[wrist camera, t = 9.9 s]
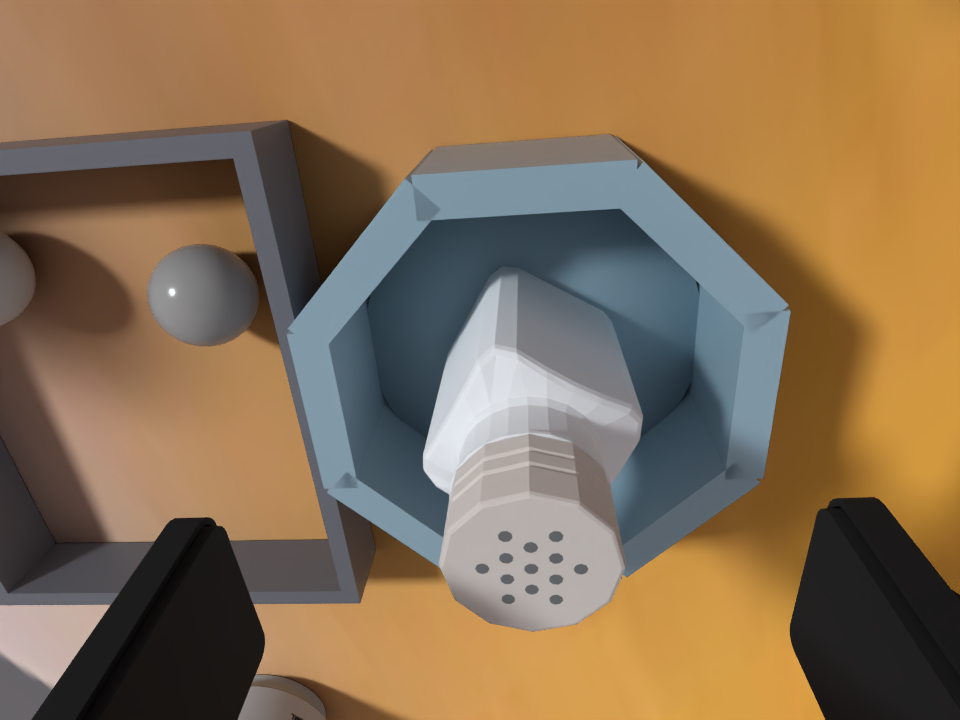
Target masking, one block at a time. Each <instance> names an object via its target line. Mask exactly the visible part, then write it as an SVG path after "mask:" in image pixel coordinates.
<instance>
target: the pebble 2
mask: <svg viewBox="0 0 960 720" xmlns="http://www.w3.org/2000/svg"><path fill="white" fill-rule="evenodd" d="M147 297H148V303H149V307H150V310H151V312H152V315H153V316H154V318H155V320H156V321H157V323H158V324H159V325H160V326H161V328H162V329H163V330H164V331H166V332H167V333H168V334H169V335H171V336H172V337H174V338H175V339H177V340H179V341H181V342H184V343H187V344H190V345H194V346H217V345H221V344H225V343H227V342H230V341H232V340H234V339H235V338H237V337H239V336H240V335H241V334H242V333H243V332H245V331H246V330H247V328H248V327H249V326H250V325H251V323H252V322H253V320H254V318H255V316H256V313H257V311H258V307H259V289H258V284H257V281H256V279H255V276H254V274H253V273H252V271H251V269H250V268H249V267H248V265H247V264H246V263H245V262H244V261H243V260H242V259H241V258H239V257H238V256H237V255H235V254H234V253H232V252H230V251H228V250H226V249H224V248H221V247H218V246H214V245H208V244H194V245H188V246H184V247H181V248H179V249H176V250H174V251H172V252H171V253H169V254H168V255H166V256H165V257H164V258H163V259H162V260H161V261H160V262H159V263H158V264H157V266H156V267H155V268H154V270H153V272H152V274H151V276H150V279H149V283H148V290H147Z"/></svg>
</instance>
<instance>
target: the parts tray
mask: <svg viewBox="0 0 960 720" xmlns="http://www.w3.org/2000/svg"><path fill="white" fill-rule="evenodd" d="M231 158H233V160H234V164H235V168H236V172H237V176H238V180H239V184H240V188H241V192H242V196H243V200H244V204H245V208H246V212H247V216H248V220H249V224H250V228H251V232H252V236H253V240H254V244H255V248H256V252H257V256H258V260H259V264H260V268H261V272H262V276H263V280H264V284H265V288H266V292H267V296H268V300H269V304H270V308H271V312H272V316H273V320H274V324H275V328H276V332H277V336H278V341H279V345H280V349H281V353H282V357H283V361H284V365H285V369H286V373H287V377H288V381H289V385H290V389H291V393H292V397H293V401H294V405H295V409H296V413H297V417H298V421H299V425H300V429H301V433H302V437H303V441H304V445H305V449H306V453H307V457H308V461H309V465H310V469H311V473H312V477H313V481H314V485H315V489H316V493H317V497H318V501H319V505H320V509H321V513H322V517H323V521H324V525H325V529H326V533H327V537H328V540H265V541H230V543H231V546H232V549H233V551H234V554H235V557H236V559H237V562H238V565H239V567H240V570H241V573H242V576H243V578H244V581H245V584H246V586H247V589H248V592H249V594H250V597H251V600H252V602H253V604H325V603H360V602H361V599H362V596H363V592H364V589H365V585H366V582H367V579H368V575H369V572H370V568H371V565H372V562H373V558H374V555H375V551H376V549H375V544H374V539H373V534H372V529H371V524H370V521H369V520H367V519H366V518H364V517H363V516H361V515H360V514H358V513H357V512H355V511H354V510H352V509H351V508H349V507H348V506H346V505H345V504H343V503H342V502H340V501H339V500H337V499H336V498H334V497H333V496H331V495H330V494H328V493H327V491H328V489H324V487H323V483H322V479H321V475H320V470H319V466H318V462H317V458H316V454H315V450H314V446H313V441H312V437H311V433H310V429H309V425H308V421H307V417H306V412H305V408H304V404H303V400H302V396H301V392H300V387H299V383H298V379H297V375H296V371H295V367H294V363H293V358H292V354H291V350H290V346H289V342H288V338H287V333H288V332H289V331H290V330H289V329H288V328H289V327H290V325H291V324H292V323H293V322H294V320H295V319H296V318H297V316H298V315H299V314H300V313H301V311H302V310H303V309H304V307H305V306H306V305H307V304H308V302H309V301H310V300H311V298H312V297H313V296H314V295H315V293H316V292H317V291H318V289H319V288H320V287H321V286H322V285H321V280H320V275H319V271H318V266H317V261H316V256H315V251H314V246H313V241H312V236H311V232H310V227H309V222H308V217H307V212H306V207H305V202H304V197H303V192H302V188H301V183H300V178H299V173H298V168H297V163H296V158H295V153H294V149H293V144H292V139H291V134H290V129H289V124H288V120H281V121H268V122H255V123H243V124H230V125H218V126H205V127H192V128H180V129H167V130H154V131H142V132H129V133H117V134H104V135H91V136H79V137H66V138H53V139H41V140H28V141H16V142H3V143H0V176H1V175H15V174H28V173H42V172H55V171H69V170H82V169H96V168H109V167H123V166H137V165H150V164H164V163H177V162H191V161H204V160H218V159H231ZM153 544H154V542H129V543H61V544H55V542H54V540H53V538H52V536H51V534H50V532H49V530H48V529H47V527H46V525H45V523H44V521H43V519H42V517H41V515H40V513H39V511H38V509H37V507H36V505H35V503H34V501H33V499H32V497H31V496H30V494H29V492H28V490H27V488H26V486H25V484H24V482H23V480H22V478H21V476H20V474H19V472H18V470H17V468H16V466H15V464H14V463H13V461H12V459H11V457H10V455H9V453H8V451H7V449H6V447H5V445H4V443H3V441H2V439H1V437H0V605H111V604H112V603H113V601H114V600H115V598H116V597H117V596H118V594H119V593H120V591H121V590H122V588H123V587H124V585H125V584H126V583H127V581H128V580H129V578H130V577H131V575H132V574H133V572H134V571H135V570H136V568H137V567H138V565H139V564H140V562H141V561H142V559H143V558H144V557H145V555H146V554H147V552H148V551H149V549H150V548H151V546H152V545H153Z"/></svg>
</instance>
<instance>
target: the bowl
mask: <svg viewBox="0 0 960 720" xmlns="http://www.w3.org/2000/svg"><path fill="white" fill-rule="evenodd" d="M502 266H506V267H515V268H519V269H521V270H523V271H525V272H527V273H529V274H531V275H533V276H535V277H537V278H539V279H541V280H543V281H545V282H547V283H549V284H551V285H553V286H555V287H557V288H559V289H561V290H563V291H565V292H567V293H569V294H571V295H573V296H574V297H576V298H578V299H580V300H582V301H584V302H586V303H588V304H590V305H592V306H594V307H596V308H598V309H600V310H602V311H603V312H604V313H605V314H606V315H607V317H608V318H609V319H610V320H611V321H612V323H613V326H614V329H615V332H616V335H617V338H618V341H619V344H620V347H621V350H622V353H623V356H624V359H625V362H626V365H627V368H628V371H629V375H630V378H631V381H632V384H633V387H634V390H635V393H636V396H637V399H638V402H639V405H640V408H641V411H642V414H643V421H642V428H641V435H640V440H639V442H638V444H637V445H636V447H635V449H634V450H633V452H632V454H631V455H630V457H629V458H628V460H627V462H626V463H625V465H624V466H623V468H622V469H621V471H620V472H619V474H618V475H617V476H616V478H615V479H614V480H613V482H612V483H611V487H612V495H613V502H614V507H615V512H616V519H617V522H618V527H619V532H620V533H619V534H620V537H621V542H622V547H623V552H624V557H625V562H626V568H625V570H624V572H623V575H624V576H626V577H628V576H630V575H631V574H632V573H634V572H635V571H637V570H638V569H640V568H641V567H642V566H644V565H645V564H647V563H648V562H649V561H651V560H652V559H654V558H655V557H657V556H658V555H659V554H661V553H662V552H664V551H665V550H666V549H668V548H669V547H671V546H672V545H674V544H675V543H676V542H678V541H679V540H681V539H682V538H683V537H685V536H686V535H688V534H689V533H691V532H692V531H693V530H695V529H696V528H698V527H699V526H700V525H702V524H703V523H705V522H706V521H707V520H709V519H710V518H712V517H713V516H715V515H716V514H717V513H719V512H720V511H722V510H723V509H724V508H726V507H727V506H729V505H730V504H732V503H733V502H734V501H736V500H737V499H739V498H740V497H741V496H743V495H744V494H746V493H747V492H749V491H750V490H751V489H753V488H754V487H756V486H757V485H758V484H760V482H759V480H758V479H763V478H764V472H765V466H766V460H767V454H768V448H769V442H770V435H771V429H772V423H773V417H774V411H775V405H776V399H777V393H778V387H779V380H780V374H781V368H782V362H783V356H784V350H785V344H786V338H787V332H788V325H789V319H790V313H791V311H790V310H789V309H788V308H787V307H788V306H789V305H788V304H787V303H786V302H785V301H784V300H783V299H782V298H781V297H780V296H779V295H778V294H777V293H776V292H775V291H774V290H773V289H772V288H771V287H770V286H769V285H768V284H767V283H766V282H765V281H764V280H763V279H762V278H761V277H760V276H759V275H758V274H757V273H756V272H755V271H754V270H753V269H752V268H751V267H750V266H749V265H748V264H747V263H746V262H745V261H744V260H743V259H742V258H741V257H740V256H739V255H738V254H737V253H736V252H735V251H734V250H733V249H732V248H731V247H730V246H729V245H728V244H727V243H726V242H725V241H724V240H723V239H722V238H721V237H720V236H719V235H718V234H717V233H716V232H715V231H714V230H713V229H712V228H711V227H710V226H709V225H708V224H707V223H706V222H705V221H704V220H703V219H702V218H701V217H700V216H699V215H697V214H696V213H695V212H694V211H693V210H692V209H691V208H690V207H689V206H688V205H687V204H686V203H685V202H684V201H683V200H682V199H681V198H680V197H679V196H678V195H677V194H676V193H675V192H674V191H673V190H672V189H671V188H670V187H669V186H668V185H667V184H666V183H665V182H664V181H663V180H662V179H661V178H660V177H659V176H658V175H657V174H656V173H655V172H654V171H653V170H652V169H651V168H650V167H649V166H648V165H647V164H646V163H645V162H644V161H643V160H642V159H641V158H640V157H638V156H637V155H636V154H635V153H634V152H633V151H632V150H631V149H630V148H628V147H627V146H626V145H625V144H624V143H623V142H622V141H621V140H620V139H618V138H617V137H616V136H615V137H613V136H612V135H611V134H605V135H591V136H577V137H564V138H550V139H537V140H523V141H509V142H496V143H482V144H468V145H455V146H441V147H436V148H435V149H434V150H431V151H430V152H429V153H428V154H427V155H426V156H425V157H424V158H423V160H422V161H421V162H420V163H419V164H418V165H417V166H416V167H415V168H414V169H413V170H412V171H411V173H410V174H409V175H408V176H407V177H406V178H405V179H404V180H403V182H402V183H401V184H400V186H399V187H398V188H397V189H396V191H395V192H394V193H393V194H392V196H391V197H390V198H389V200H388V201H387V202H386V203H385V205H384V206H383V207H382V209H381V210H380V211H379V212H378V214H377V215H376V216H375V218H374V219H373V220H372V221H371V223H370V224H369V225H368V227H367V228H366V229H365V230H364V232H363V233H362V234H361V236H360V237H359V238H358V239H357V241H356V242H355V243H354V245H353V246H352V247H351V248H350V250H349V251H348V252H347V254H346V255H345V256H344V257H343V259H342V260H341V261H340V262H339V264H338V265H337V266H336V268H335V269H334V270H333V271H332V273H331V274H330V275H329V277H328V278H327V279H326V280H325V282H324V283H323V284H322V286H321V287H320V288H319V289H318V291H317V292H316V293H315V295H314V296H313V297H312V298H311V300H310V301H309V302H308V304H307V305H306V306H305V307H304V309H303V310H302V311H301V313H300V314H299V315H298V316H297V318H296V319H295V320H294V322H293V323H292V324H291V325H290V327H289V328H288V329H289V330H290V331H289V332H288V333H287V338H288V342H289V346H290V350H291V354H292V358H293V363H294V367H295V371H296V375H297V379H298V383H299V387H300V392H301V396H302V400H303V404H304V408H305V412H306V417H307V421H308V425H309V429H310V433H311V437H312V441H313V446H314V450H315V454H316V458H317V462H318V466H319V470H320V475H321V479H322V483H323V487H324V489H328V491H327V493H328V494H330V495H331V496H333V497H334V498H336V499H337V500H339V501H340V502H342V503H343V504H345V505H346V506H348V507H349V508H351V509H352V510H354V511H355V512H357V513H358V514H360V515H361V516H363V517H364V518H366V519H367V520H369V521H370V522H372V523H373V524H375V525H376V526H378V527H379V528H381V529H382V530H384V531H385V532H387V533H388V534H390V535H391V536H393V537H394V538H396V539H397V540H399V541H400V542H402V543H403V544H405V545H406V546H408V547H409V548H411V549H412V550H414V551H415V552H417V553H418V554H420V555H421V556H423V557H425V558H426V559H428V560H429V561H431V562H432V563H434V564H435V565H437V566H438V567H439V559H440V553H441V547H442V541H443V536H444V529H445V523H446V518H447V510H448V504H449V494H448V493H446V492H444V491H443V490H441V489H439V488H438V487H436V486H435V484H434V483H433V482H432V481H431V479H430V478H429V477H428V475H427V474H426V473H425V471H424V469H423V453H424V449H425V444H426V440H427V436H428V432H429V428H430V424H431V420H432V416H433V412H434V408H435V404H436V400H437V396H438V392H439V388H440V384H441V380H442V376H443V372H444V368H445V364H446V360H447V355H448V352H449V351H450V349H451V347H452V345H453V343H454V341H455V339H456V338H457V336H458V334H459V332H460V330H461V328H462V326H463V325H464V323H465V321H466V319H467V317H468V315H469V313H470V312H471V310H472V308H473V306H474V304H475V302H476V301H477V299H478V297H479V295H480V293H481V291H482V289H483V288H484V286H485V284H486V282H487V280H488V278H489V276H490V275H492V274H493V273H494V272H496V271H497V270H498V269H499V268H501V267H502ZM621 579H622V577H621Z"/></svg>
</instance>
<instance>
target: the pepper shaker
mask: <svg viewBox="0 0 960 720" xmlns="http://www.w3.org/2000/svg"><path fill="white" fill-rule="evenodd" d="M642 421H643V414H642V411H641V408H640V405H639V402H638V399H637V396H636V393H635V390H634V387H633V384H632V381H631V378H630V375H629V371H628V368H627V365H626V362H625V359H624V356H623V353H622V350H621V347H620V344H619V341H618V338H617V335H616V332H615V329H614V326H613V323H612V321H611V320H610V319H609V318H608V317H607V315H606V314H605V313H604V312H603V311H602V310H600V309H598V308H596V307H594V306H592V305H590V304H588V303H586V302H584V301H582V300H580V299H578V298H576V297H574V296H573V295H571V294H569V293H567V292H565V291H563V290H561V289H559V288H557V287H555V286H553V285H551V284H549V283H547V282H545V281H543V280H541V279H539V278H537V277H535V276H533V275H531V274H529V273H527V272H525V271H523V270H521V269H519V268H515V267H506V266H502V267H501V268H499V269H498V270H497V271H496V272H494V273H493V274H492V275H490V276H489V278H488V280H487V282H486V284H485V286H484V288H483V289H482V291H481V293H480V295H479V297H478V299H477V301H476V302H475V304H474V306H473V308H472V310H471V312H470V313H469V315H468V317H467V319H466V321H465V323H464V325H463V326H462V328H461V330H460V332H459V334H458V336H457V338H456V339H455V341H454V343H453V345H452V347H451V349H450V351H449V352H448V355H447V360H446V364H445V368H444V372H443V376H442V380H441V384H440V388H439V392H438V396H437V400H436V404H435V408H434V412H433V416H432V420H431V424H430V428H429V432H428V436H427V440H426V444H425V449H424V453H423V469H424V471H425V473H426V474H427V475H428V477H429V478H430V479H431V481H432V482H433V483H434V484H435V486H436V487H438V488H439V489H441V490H443V491H444V492H446V493H448V494H449V504H448V510H447V518H446V523H445V529H444V536H443V541H442V547H441V553H440V559H439V567H440V569H441V571H442V573H443V575H444V577H445V579H446V582H447V584H448V586H449V588H450V590H451V592H452V594H453V596H454V598H455V600H456V601H457V602H459V603H460V604H462V605H463V606H465V607H466V608H468V609H469V610H471V611H472V612H474V613H475V614H477V615H478V616H480V617H481V618H483V619H484V620H486V621H487V622H488V623H492V624H497V625H502V626H507V627H512V628H517V629H522V630H527V631H532V632H534V631H540V630H546V629H551V628H557V627H563V626H569V625H575V624H578V623H579V622H581V621H582V620H584V619H585V618H587V617H588V616H590V615H591V614H593V613H594V612H596V611H597V610H599V609H600V608H602V607H603V606H605V605H606V604H608V603H609V602H611V600H612V597H613V595H614V593H615V591H616V588H617V586H618V584H619V581H620V579H621V577H622V575H623V572H624V570H625V568H626V562H625V557H624V552H623V547H622V542H621V537H620V534H619V533H620V532H619V527H618V522H617V519H616V512H615V507H614V502H613V495H612V487H611V483H612V482H613V480H614V479H615V478H616V476H617V475H618V474H619V472H620V471H621V469H622V468H623V466H624V465H625V463H626V462H627V460H628V458H629V457H630V455H631V454H632V452H633V450H634V449H635V447H636V445H637V444H638V442H639V440H640V435H641V428H642Z"/></svg>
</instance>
